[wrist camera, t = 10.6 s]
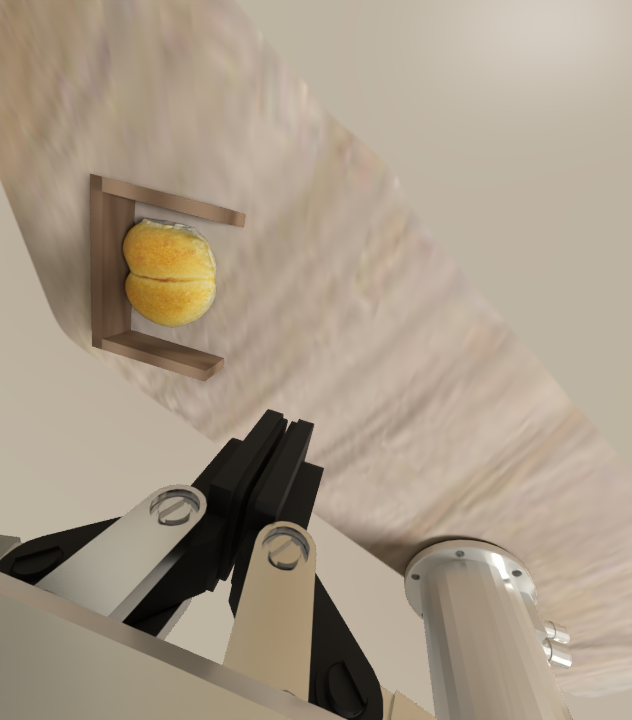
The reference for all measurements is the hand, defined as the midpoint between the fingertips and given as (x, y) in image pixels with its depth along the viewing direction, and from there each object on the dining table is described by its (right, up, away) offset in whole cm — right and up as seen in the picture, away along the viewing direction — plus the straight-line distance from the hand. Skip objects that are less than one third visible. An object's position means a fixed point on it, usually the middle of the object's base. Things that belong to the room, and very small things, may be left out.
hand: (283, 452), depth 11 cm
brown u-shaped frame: (-12, +10, +18) cm, 24 cm away
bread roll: (-11, +11, +18) cm, 24 cm away
